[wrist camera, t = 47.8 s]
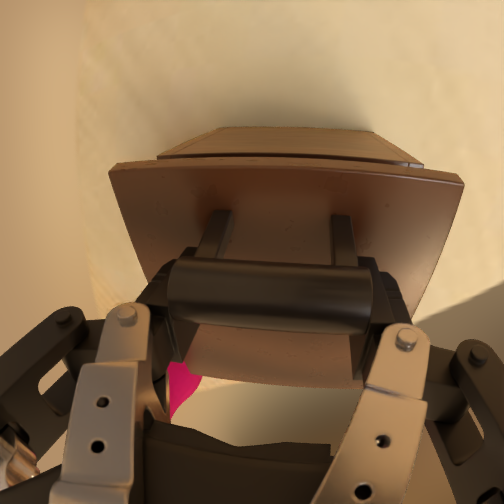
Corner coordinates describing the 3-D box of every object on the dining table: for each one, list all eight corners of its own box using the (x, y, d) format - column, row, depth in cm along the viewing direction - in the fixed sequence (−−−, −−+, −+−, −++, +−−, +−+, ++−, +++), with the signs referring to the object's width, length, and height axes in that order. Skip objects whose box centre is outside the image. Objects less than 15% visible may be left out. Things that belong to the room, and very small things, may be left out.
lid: (117, 162, 11) (36, 248, 7) (457, 173, 9) (524, 277, 5) (193, 364, 21) (174, 428, 17) (370, 379, 19) (371, 447, 15)
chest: (219, 127, 24) (156, 155, 14) (373, 132, 22) (424, 164, 12) (229, 277, 31) (193, 364, 21) (355, 285, 29) (370, 379, 19)
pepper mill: (147, 326, 37) (72, 458, 20) (195, 318, 35) (124, 475, 17) (174, 364, 40) (119, 490, 23) (220, 360, 38) (173, 504, 20)
